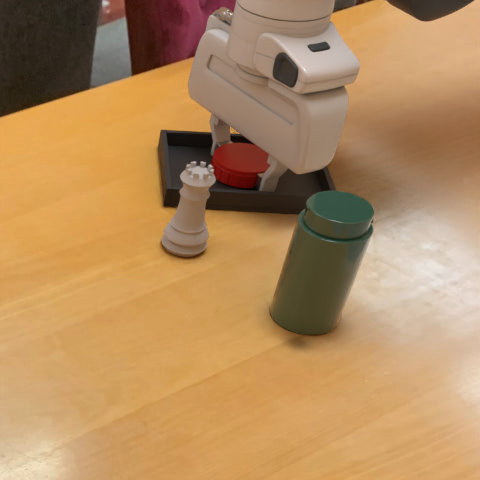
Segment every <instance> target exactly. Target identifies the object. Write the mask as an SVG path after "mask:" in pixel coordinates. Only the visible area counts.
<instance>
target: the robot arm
mask: <svg viewBox="0 0 480 480" xmlns="http://www.w3.org/2000/svg"><path fill="white" fill-rule="evenodd" d="M384 1H385V2H387V3H388V4H389V5H391V6H393V7H394V8H396V9H398V10H400V11H401V12H403V13H405V14H407V15H409V16H411V17H412V18H414V19H416V20H418V21H420V22H424V23H425V22H433V21H436V20H439V19H442V18H444V17H447V16H450V15H451V14H453V13H456V12H458V11H460V10H461V9H463V8H465V7H467V6H468V5H470V4H471V3H473V2H474V1H475V0H384ZM335 3H336V0H235V4H234V9H233V11H232V9H230V8H228V7H225V6H221V7H219V9H216V10H214V11H213V12H212V13H211V14H210V15H209V16H208V18H207V22H206V26H205V31H204V33H203V34H202V36H201V37H200V39H199V41H198V45H197V47H196V50H195V54H194V56H193V57H194V58H193V61H192V64H191V68H190V72H189V76H188V80H187V91H188V95H189V98H190V99H191V100H192V101H193V102H195V103H197V104H198V105H199V106H201V107H202V108H204V109H205V110H206V111H207V112H209V113H210V118H209V127H210V132H211V133H212V139H213V145H212V149H211V155H212V156H213V155H214V152H215V150H216V149H217V148H218V147H220V146H222V145H225V144H229V143H233V142H232V141H230V133H231V129H233V130H234V131H236V132H237V134H241V135H243V136H244V137H245V138H247V139H248V140H250V141H251V142H252V143H254V144H255V145H257V146H258V147H259V148H261V149H262V150H264V151H265V152H266V153H268V154H269V156H268V160H267V163H268V164H269V165H270V164H271V165H270V167H269V168H268V169H267V170H266V172H262V173H257V175H256V179H255V181H256V182H255V183H254V188H255V189H256V190H257V191H268V192H274V191H275V189H276V186H277V183H278V179H279V177H280V176H281V175H282V174H283V173H284V172H285V171H286V170H287V169H288V168H289V169H290V170H291V171H293V172H294V173H296V174H305V173H309V172H313V171H317V170H320V169H322V168H324V167H325V166H327V165H329V164H330V163H331V162H332V161H333V159H334V157H335V154H336V153H337V149H338V146H339V143H340V141H341V138H342V134H343V130H344V127H345V123H346V119H347V115H348V111H349V94H348V91H347V88H346V87H345V86H347V85H352V84H353V83H355V82H356V80H357V79H358V75H359V72H360V70H361V69H360V68H361V64H360V61H359V58H358V57H357V55H355V53H354V52H353V51H352V49H351V48H350V47H349V46H348V44H347V43H346V41H345V40H344V39H343V37H342V36H341V34H340V33H339V31H338V28H337V27H336V24H334V22H332V21H331V19H332V15H333V12H334V8H335Z"/></svg>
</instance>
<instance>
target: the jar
mask: <svg viewBox="0 0 480 480" xmlns="http://www.w3.org/2000/svg"><path fill="white" fill-rule="evenodd" d="M375 213H376V212H375V208H374V206H373V204H372V203H370V201H368V200H367V199H366V198H364V197H362V196H361V195H357V194H354V193H351V192H348V191H341V190H336V191H322V192H318V193H316V194H314V195H312V196H311V197H309V199H308V200H307V201H306V209H304V210H303V211H301V212H300V214H297V215H298V216H297V219H296V221H295V225H294V229H293V232H292V235H291V238H290V241H289V244H288V247H287V250H286V253H285V257H284V261H283V263H282V266H281V270H280V273H279V277H278V280H277V283H276V286H275V289H274V292H273V295H272V298H271V302H270V305H269V315H270V317H271V318H272V319H273V321H274V322H275V323H277V325H279V326H280V327H282V328H283V329H286V330H287V331H290V332H293V333H296V334H299V335H305V336H306V335H307V336H319V335H324V334H325V335H326V334H327V333H329V332H332V331H334V330H335V329H336V327H338V325H339V323H340V320H341V317H342V315H343V311H344V309H345V307H346V304H347V301H348V299H349V296H350V294H351V291H352V288H353V286H354V283H355V281H356V278H357V276H358V273H359V271H360V268H361V265H362V262H363V260H364V257H365V254H366V252H367V250H368V247H369V246H370V245H369V244H370V242H371V240H372V236H373V234H374V225H373V224H374V219H375V215H376V214H375Z"/></svg>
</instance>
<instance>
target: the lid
mask: <svg viewBox="0 0 480 480" xmlns="http://www.w3.org/2000/svg"><path fill="white" fill-rule="evenodd" d="M268 156H269V154H268V153H266V152H265V151H264V150H262V149H261V148H259V147H258V146H257V145H253V144H248V143H229V144H225V145H222V146H220V147H218V148H217V149H216V150H215V152H214V155H213V156H212V161H211V165H212V166H213V169H214V172H213V174H214V176H215V178H216V179H217V180H218V181H220V182H222V183H224V184H226V185H230V186H233V187H239V188H254V183H255V182H256V181H255V179H256V175H257V173H262V172H266V170H267V169H268V168H269V167H270V165H271V164H270V165H269V164H268V163H267V160H268Z"/></svg>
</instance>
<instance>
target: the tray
mask: <svg viewBox="0 0 480 480" xmlns="http://www.w3.org/2000/svg"><path fill="white" fill-rule="evenodd" d="M230 141H232V142H233V143H248V144H253V145H255V144H254V143H252V142H251V141H250V140H248V139H247V138H245V137H244V136H243V135H241V134H240V133H232V132H230ZM212 145H213V139H212V133H211V131H197V130H196V131H193V130H191V131H190V130H177V129H175V130H174V129H160V132H159V138H158V144H157V151H158V153H157V154H158V162H159V163H158V164H159V171H160V172H159V173H160V183H161V184H160V185H161V195H162V207H169V208H178V205H179V202H180V197H181V195H180V192H179V191H180V189H181V188H182V187H183V183H182V181H181V178H180V175H181V173H182V172H183V171H184V170H185V169H186V165H187V164H191V162H194V161H196V166H200V163H201V161H202V162H206V165H205V167H206V168H208V165H210V164H211V161H212V155H211V149H212ZM328 165H329V164H328ZM328 165H327V166H325V167H324V168H322V169H320V170H317V171H313V172H309V173H305V174H296V173H294V172H293V171H291V170H290V169H289V168H288V169H287V170H286V171H285V172H284V173H283V174H282V175H281V176H280V177H279V179H278V183H277V186H276V189H275V191H274V192H268V191H257V190H256V189H255V188H239V187H233V186H230V185H226V184H224V183H222V182H220V181H218V180H217V179H216V181H215V183H214V184H213V185H212V186H211V187H210V188H209V193H210V196H209V198H208V199H207V201H206V206H205V210H218V211H219V210H222V211H235V212H236V211H239V212H255V213H271V214H290V215H299V214H300V212H301V211H303V210H304V209H306V201H307V200H308V199H309V197H311V196H312V195H314V194H316V193H318V192H322V191H337V188H336V185H335V182H334V180H333V176H332V174H331V171H330V169H329V166H328Z"/></svg>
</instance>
